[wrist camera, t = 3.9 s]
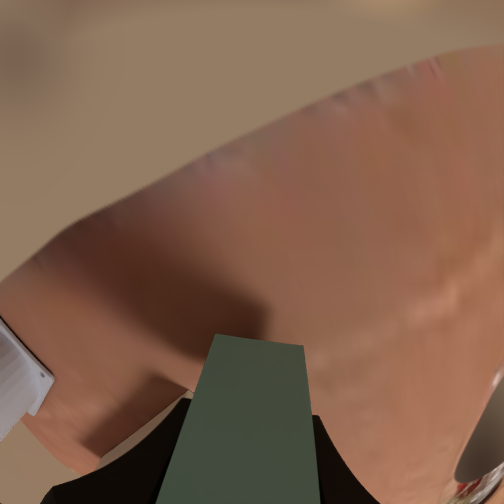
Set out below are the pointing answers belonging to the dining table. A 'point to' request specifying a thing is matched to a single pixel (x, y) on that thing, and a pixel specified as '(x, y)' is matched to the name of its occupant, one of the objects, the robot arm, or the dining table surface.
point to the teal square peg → (246, 429)
